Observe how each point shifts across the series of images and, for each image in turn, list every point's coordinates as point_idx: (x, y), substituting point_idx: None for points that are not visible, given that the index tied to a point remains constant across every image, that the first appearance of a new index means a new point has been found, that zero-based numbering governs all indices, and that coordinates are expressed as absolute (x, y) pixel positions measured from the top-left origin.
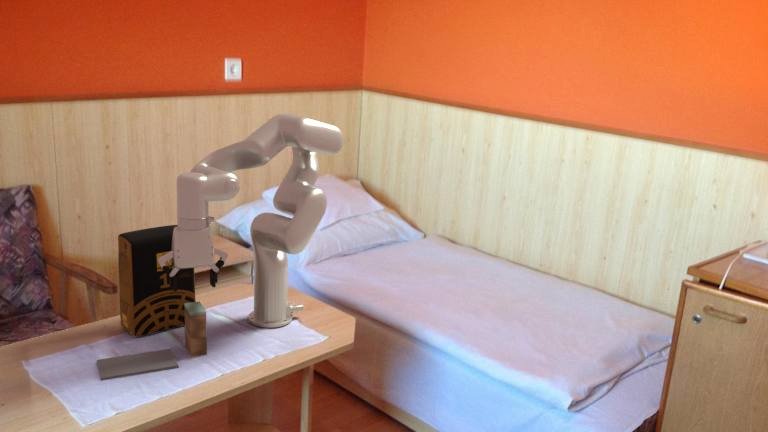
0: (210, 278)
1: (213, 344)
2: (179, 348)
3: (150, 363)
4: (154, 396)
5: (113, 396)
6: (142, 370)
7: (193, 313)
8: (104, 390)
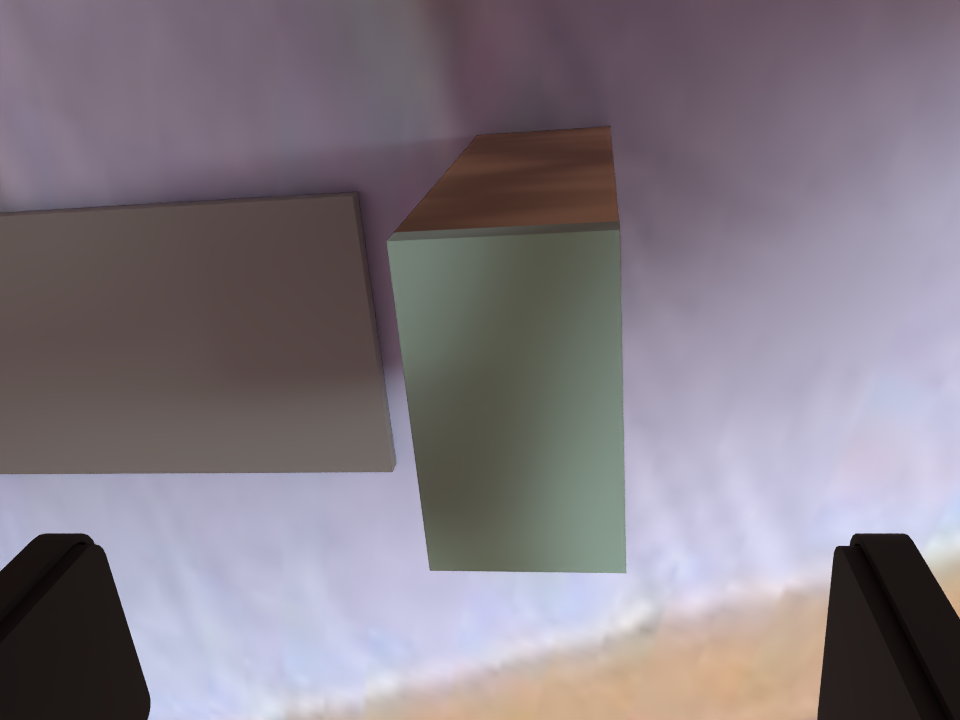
0: (874, 691)
1: (711, 179)
2: (425, 172)
3: (211, 391)
4: (256, 699)
5: None
6: (169, 465)
7: (470, 568)
8: None
